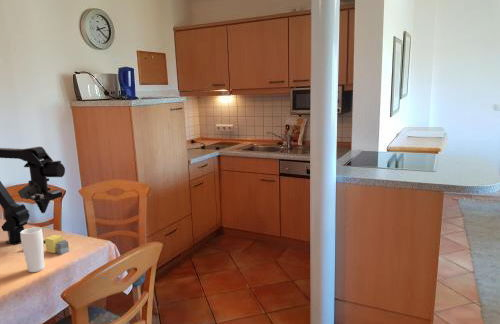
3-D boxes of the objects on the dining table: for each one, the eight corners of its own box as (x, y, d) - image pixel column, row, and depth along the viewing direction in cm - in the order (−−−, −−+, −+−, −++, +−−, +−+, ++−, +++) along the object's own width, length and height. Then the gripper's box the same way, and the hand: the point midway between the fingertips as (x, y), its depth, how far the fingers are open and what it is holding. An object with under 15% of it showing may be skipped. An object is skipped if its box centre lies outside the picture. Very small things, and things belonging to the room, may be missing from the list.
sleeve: (46, 251, 146) (44, 238, 145) (56, 247, 150) (54, 234, 149) (54, 253, 144) (52, 239, 143) (63, 248, 148) (62, 235, 147)
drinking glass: (37, 274, 128) (31, 234, 125) (21, 273, 129) (15, 233, 127) (51, 265, 135) (46, 227, 132) (35, 264, 136) (30, 226, 133)
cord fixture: (27, 249, 149) (25, 239, 149) (39, 244, 154) (38, 234, 154) (59, 255, 143) (58, 245, 142) (71, 250, 148) (69, 240, 147)
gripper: (4, 180, 148) (9, 216, 151) (37, 183, 141) (42, 221, 144) (29, 174, 158) (34, 208, 161) (61, 177, 151) (65, 212, 154)
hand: (43, 212), depth 155 cm, fingers closed
